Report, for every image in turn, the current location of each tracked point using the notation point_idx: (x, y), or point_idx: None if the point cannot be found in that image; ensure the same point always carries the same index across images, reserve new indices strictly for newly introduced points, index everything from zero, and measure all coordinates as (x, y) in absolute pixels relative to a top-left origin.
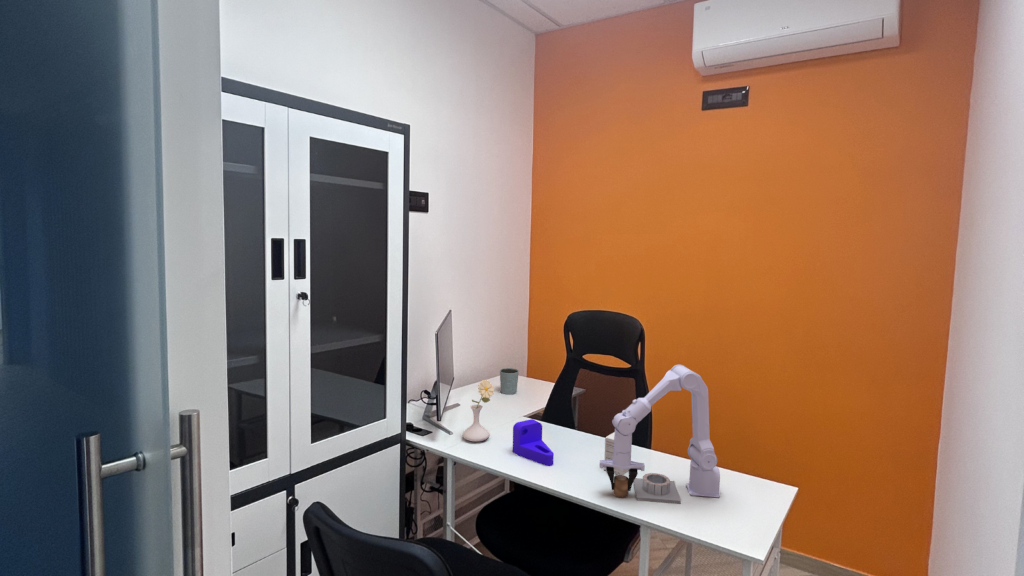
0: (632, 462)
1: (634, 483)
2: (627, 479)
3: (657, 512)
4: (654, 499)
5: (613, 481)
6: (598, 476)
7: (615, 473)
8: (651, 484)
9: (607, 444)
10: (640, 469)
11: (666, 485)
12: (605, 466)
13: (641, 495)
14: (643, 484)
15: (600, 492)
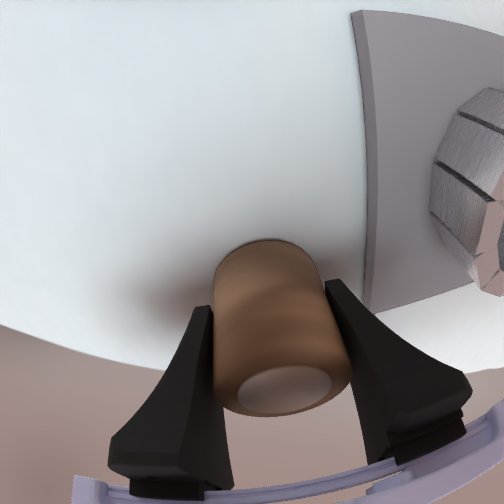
0: (447, 481)
1: (378, 123)
2: (339, 386)
3: (423, 343)
4: (450, 287)
5: (221, 405)
6: (28, 69)
7: None
8: (490, 291)
9: None
10: (475, 427)
11: None
12: (139, 499)
13: (399, 288)
14: (451, 227)
15: (132, 299)
